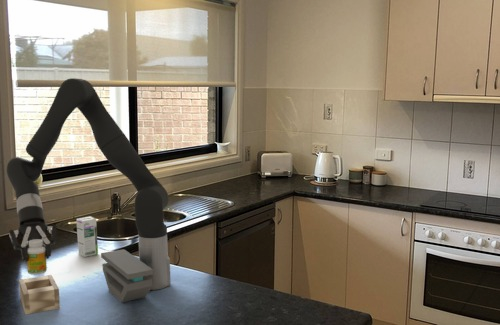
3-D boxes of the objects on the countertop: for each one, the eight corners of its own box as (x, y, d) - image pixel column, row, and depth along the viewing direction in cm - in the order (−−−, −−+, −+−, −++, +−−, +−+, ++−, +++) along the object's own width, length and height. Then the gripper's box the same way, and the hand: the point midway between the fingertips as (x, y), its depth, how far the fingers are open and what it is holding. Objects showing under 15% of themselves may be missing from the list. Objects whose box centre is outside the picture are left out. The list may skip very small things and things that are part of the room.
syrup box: (84, 257, 213) (82, 220, 211) (78, 254, 218) (76, 218, 216) (98, 254, 217) (96, 218, 215) (91, 251, 221) (89, 215, 219)
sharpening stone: (154, 304, 167) (153, 269, 165) (129, 310, 163) (127, 274, 161) (125, 280, 188) (124, 249, 186) (102, 284, 184) (101, 253, 182)
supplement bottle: (28, 276, 164) (26, 244, 162) (27, 270, 169) (25, 239, 167) (47, 273, 166) (45, 242, 164) (46, 268, 171) (44, 237, 169)
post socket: (52, 292, 177) (51, 274, 176) (59, 308, 164) (58, 288, 164) (20, 298, 172) (19, 279, 171) (25, 314, 160) (24, 294, 159)
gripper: (5, 207, 168) (11, 256, 159) (55, 202, 174) (63, 249, 166) (5, 220, 173) (11, 268, 164) (53, 215, 180) (61, 261, 171)
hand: (37, 258), depth 165 cm, fingers closed on supplement bottle, 5 cm apart
